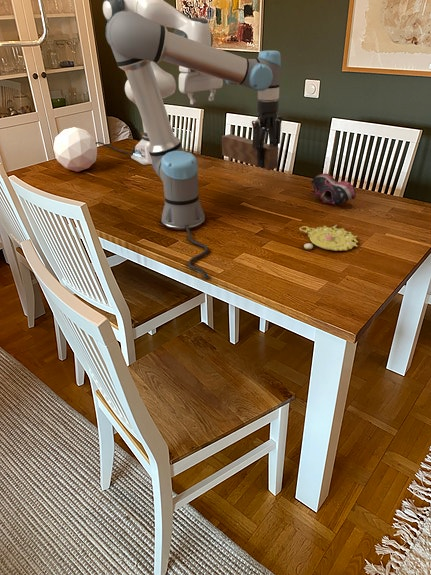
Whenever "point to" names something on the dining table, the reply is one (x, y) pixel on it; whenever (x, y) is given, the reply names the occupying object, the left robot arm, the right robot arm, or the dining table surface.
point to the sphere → (75, 149)
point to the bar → (248, 151)
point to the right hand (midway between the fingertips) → (265, 165)
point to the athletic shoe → (332, 189)
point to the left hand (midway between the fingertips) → (202, 102)
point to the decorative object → (330, 238)
